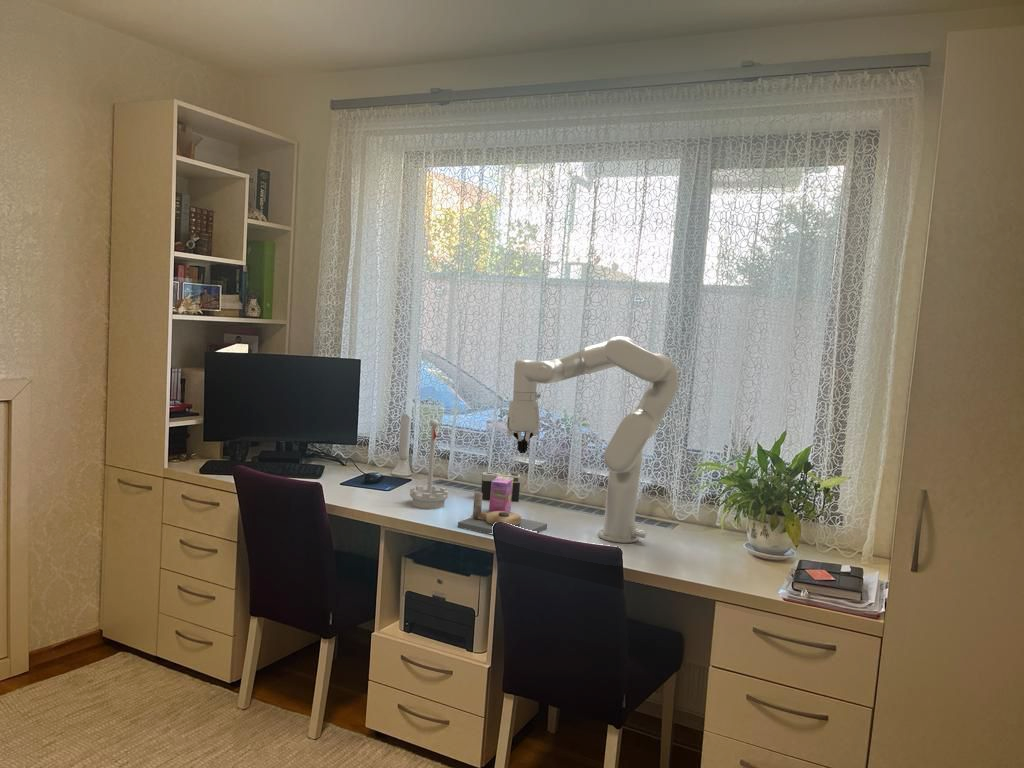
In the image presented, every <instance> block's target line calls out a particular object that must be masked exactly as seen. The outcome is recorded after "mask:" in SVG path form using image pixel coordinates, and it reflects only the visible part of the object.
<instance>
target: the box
mask: <svg viewBox="0 0 1024 768" xmlns="http://www.w3.org/2000/svg"><path fill="white" fill-rule="evenodd" d="M512 487H513V478H511V477H503V476H497V477H496V478H495V479H494V480H493V481H492V482H491V492H490V500H489V506H488V511H489V512H493V511H506V512H511V508H512V502H511V498H512Z"/></svg>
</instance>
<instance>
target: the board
mask: <svg viewBox="0 0 1024 768" xmlns="http://www.w3.org/2000/svg"><path fill="white" fill-rule="evenodd" d="M484 512H485V513H488V512H489V510H487V511H484ZM520 516H521V523H520V524H519V525H517V526H518V527H521V528H524V529H528V530H532V531H537V532H538V533H540V532H542V531H544V530H547V529H548V523H547V522H546V523H545V522H541V521H537V520H531V519H528V518H527V519H526V518H523V515H520ZM492 526H493V524H490V523H488V522H486V520H484V519H476V518H473V514H472V515H470V517H469V518H466V519H463V520H460V521H458V522H457V528H460V527H461V528H460V529H464V528H466V529H465V530H469V529H471V530H470V531H473V530H477V531H476V532H478V531H481V532H480V533H482V532H485V533H484V534H487V533H492Z"/></svg>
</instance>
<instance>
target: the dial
mask: <svg viewBox="0 0 1024 768" xmlns="http://www.w3.org/2000/svg"><path fill="white" fill-rule="evenodd" d="M482 494H483V493H481V491H480V492H479V491H478V492H477V491H475V492H474V495H473V507H472V508H473V510H472V515H473V518H476V519H484V520H486V522H488V523H490V524H494V523H495V522H506V523H509V524H512V525H515V526H517V525H519V524H520V523H521V518H522V517H521V516H522V515H520V514H518V513H516V512H513V511H512V512H511V511H510V512H506V511H493V512H488V511H487V512H488V513H485V512H486V511H482V506H483V505H482V504H483V500H482Z"/></svg>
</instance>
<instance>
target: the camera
mask: <svg viewBox="0 0 1024 768" xmlns="http://www.w3.org/2000/svg"><path fill="white" fill-rule="evenodd" d="M497 476H503V477H511V478H513V487H512V498H511V503H514V502H515V503H519V501H520V490H521V489H520V487H521V475H520V474H519V473H515V472H511V473H508V472H505V473H503V472H497V471H487V472H486V471H482V474H481V484H480V492H481V493H483V494H482V501H490V492H491V482H492V481H493V480H494V479H495V478H496V477H497Z"/></svg>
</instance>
